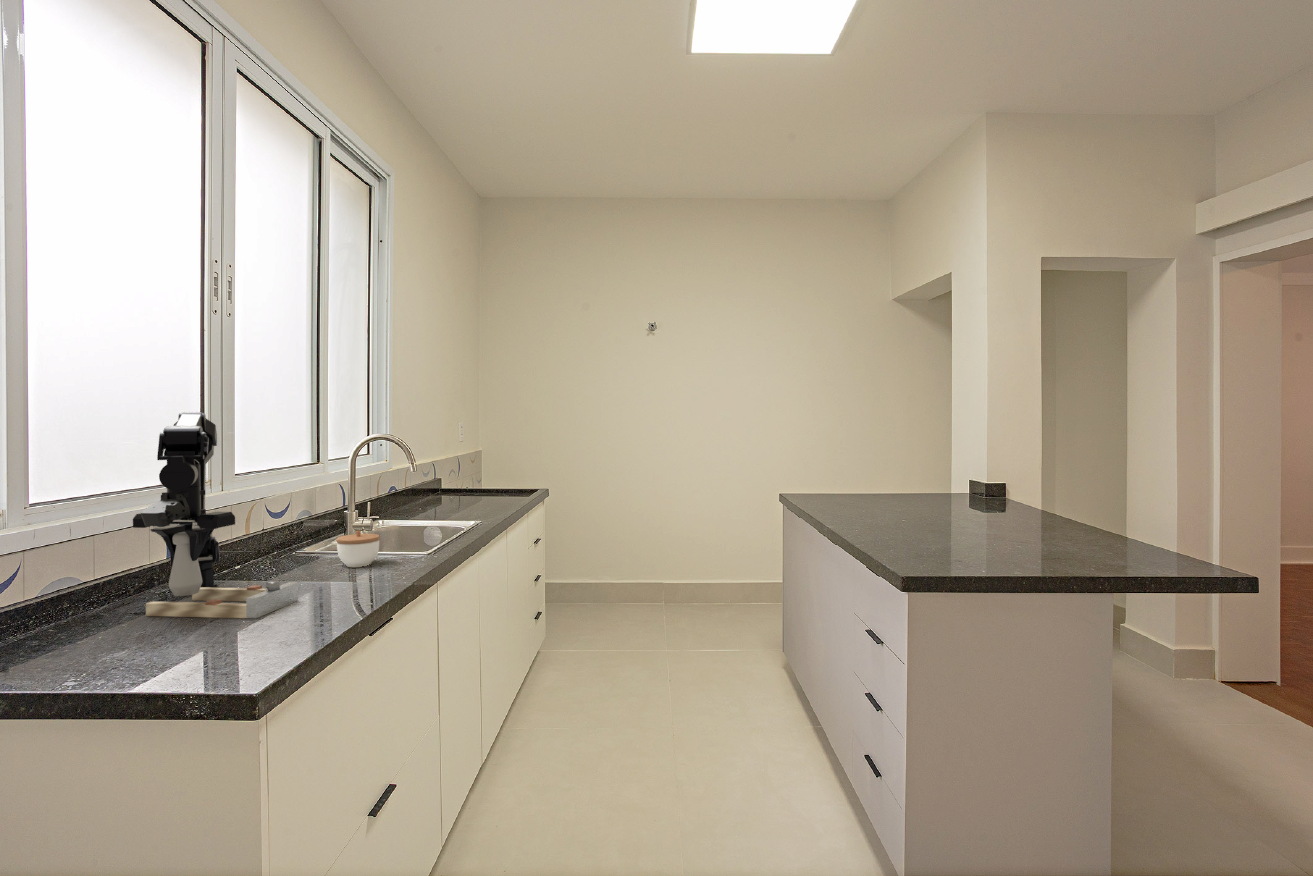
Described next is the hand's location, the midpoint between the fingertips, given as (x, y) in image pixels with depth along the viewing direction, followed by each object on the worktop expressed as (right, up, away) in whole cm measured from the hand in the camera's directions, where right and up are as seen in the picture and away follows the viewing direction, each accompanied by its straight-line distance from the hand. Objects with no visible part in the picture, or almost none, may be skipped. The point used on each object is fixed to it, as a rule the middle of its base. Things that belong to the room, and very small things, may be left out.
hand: (185, 560), depth 135 cm
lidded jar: (+18, -9, +41) cm, 45 cm away
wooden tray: (+8, -10, -1) cm, 13 cm away
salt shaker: (0, -7, 0) cm, 7 cm away
